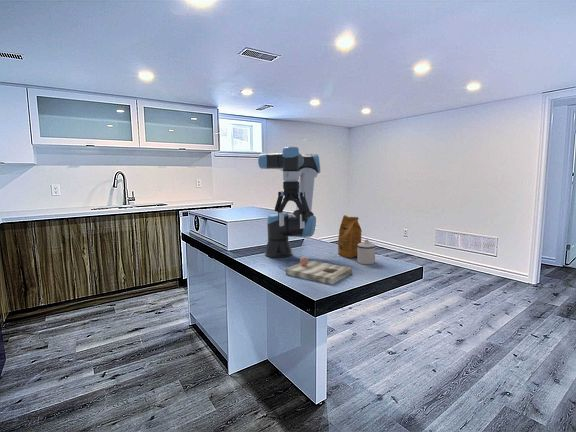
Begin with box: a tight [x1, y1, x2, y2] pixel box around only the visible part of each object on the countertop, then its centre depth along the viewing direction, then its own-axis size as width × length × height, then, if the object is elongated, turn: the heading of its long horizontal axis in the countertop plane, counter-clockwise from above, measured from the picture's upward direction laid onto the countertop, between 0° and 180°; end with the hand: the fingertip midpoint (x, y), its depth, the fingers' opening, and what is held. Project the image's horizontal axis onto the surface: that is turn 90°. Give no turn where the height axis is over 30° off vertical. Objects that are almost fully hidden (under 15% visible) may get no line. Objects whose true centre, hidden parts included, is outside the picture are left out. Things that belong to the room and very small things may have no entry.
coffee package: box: [337, 214, 362, 259], centre depth 174 cm, size 10×12×22 cm
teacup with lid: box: [356, 239, 377, 265], centre depth 162 cm, size 12×9×12 cm
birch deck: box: [285, 259, 353, 285], centre depth 144 cm, size 24×18×2 cm
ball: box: [299, 256, 309, 266], centre depth 148 cm, size 4×4×4 cm
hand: (291, 227), depth 150 cm, fingers open, 11 cm apart
